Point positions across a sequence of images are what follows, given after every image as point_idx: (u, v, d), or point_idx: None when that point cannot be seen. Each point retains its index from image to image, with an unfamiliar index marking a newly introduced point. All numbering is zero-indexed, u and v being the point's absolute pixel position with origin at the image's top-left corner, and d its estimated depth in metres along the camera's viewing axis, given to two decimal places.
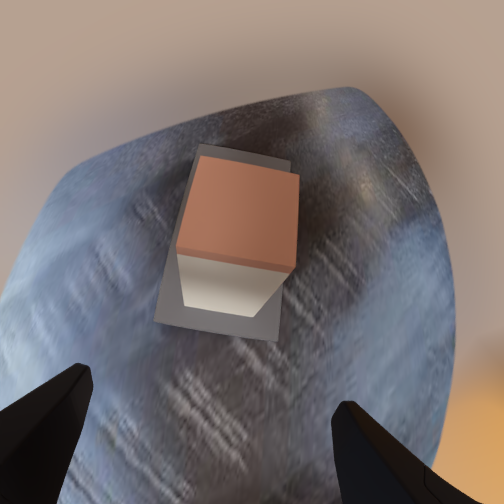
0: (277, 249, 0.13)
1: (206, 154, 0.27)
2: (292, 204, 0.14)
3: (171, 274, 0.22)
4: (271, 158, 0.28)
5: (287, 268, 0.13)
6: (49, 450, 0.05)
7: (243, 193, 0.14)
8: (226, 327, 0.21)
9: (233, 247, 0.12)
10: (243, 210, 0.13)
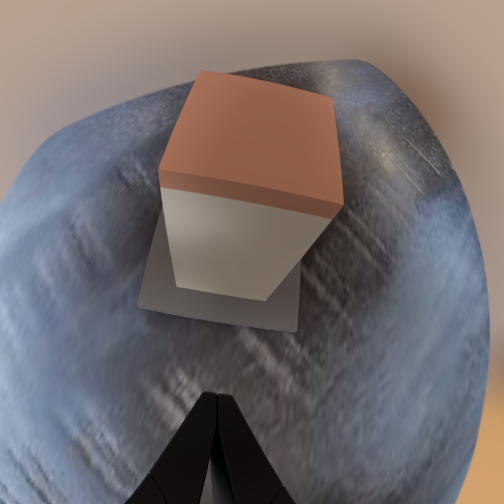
0: (315, 179, 0.08)
1: None
2: (328, 127, 0.09)
3: (160, 247, 0.17)
4: None
5: (330, 208, 0.08)
6: None
7: (261, 109, 0.09)
8: (230, 314, 0.16)
9: (248, 172, 0.08)
10: (261, 127, 0.09)
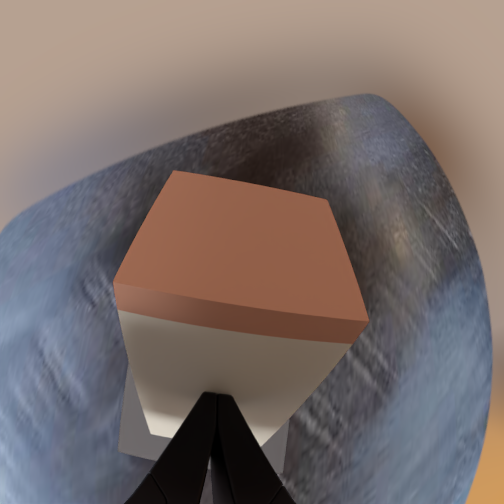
0: (327, 293, 0.06)
1: None
2: (330, 230, 0.08)
3: (134, 392, 0.14)
4: None
5: (352, 329, 0.06)
6: None
7: (247, 213, 0.08)
8: None
9: (238, 289, 0.06)
10: (250, 233, 0.07)
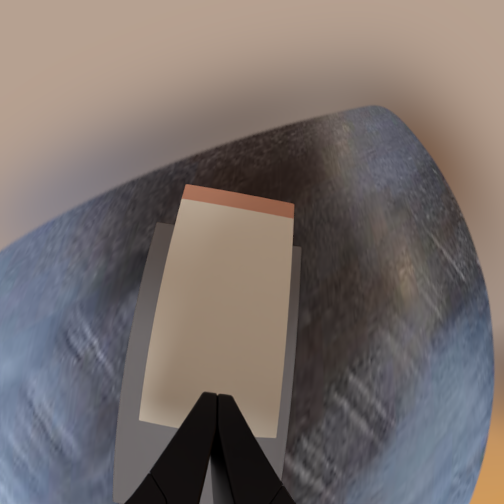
0: None
1: (167, 243, 0.17)
2: None
3: (125, 449, 0.12)
4: None
5: (288, 208, 0.14)
6: None
7: None
8: None
9: None
10: None
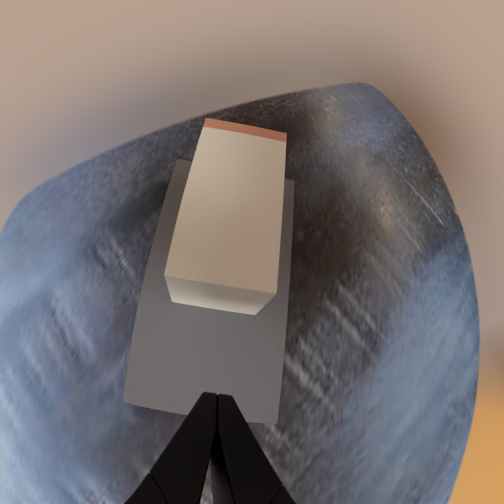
0: None
1: (185, 174, 0.21)
2: None
3: (140, 344, 0.16)
4: None
5: (282, 135, 0.17)
6: None
7: None
8: None
9: None
10: None
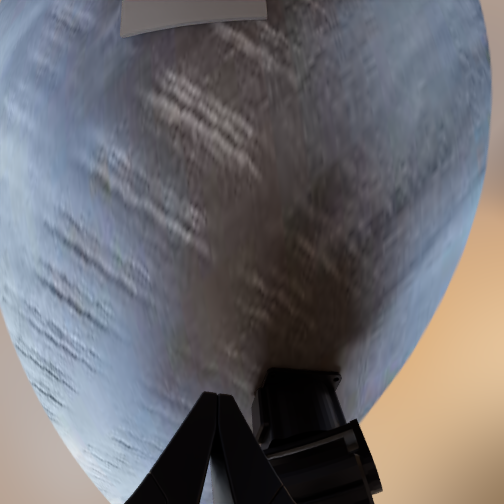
0: None
1: None
2: None
3: None
4: None
5: None
6: None
7: None
8: (202, 14, 0.13)
9: None
10: None
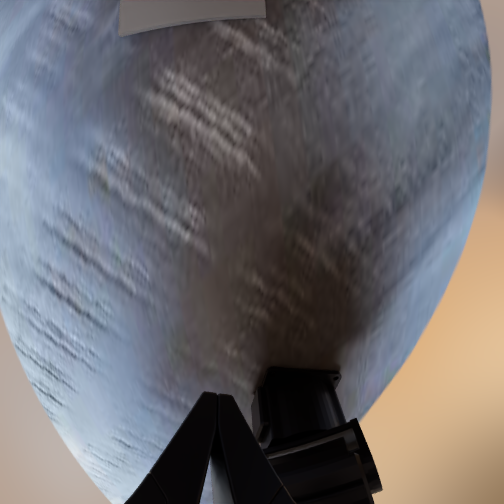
0: None
1: None
2: None
3: None
4: None
5: None
6: None
7: None
8: (201, 13, 0.13)
9: None
10: None
